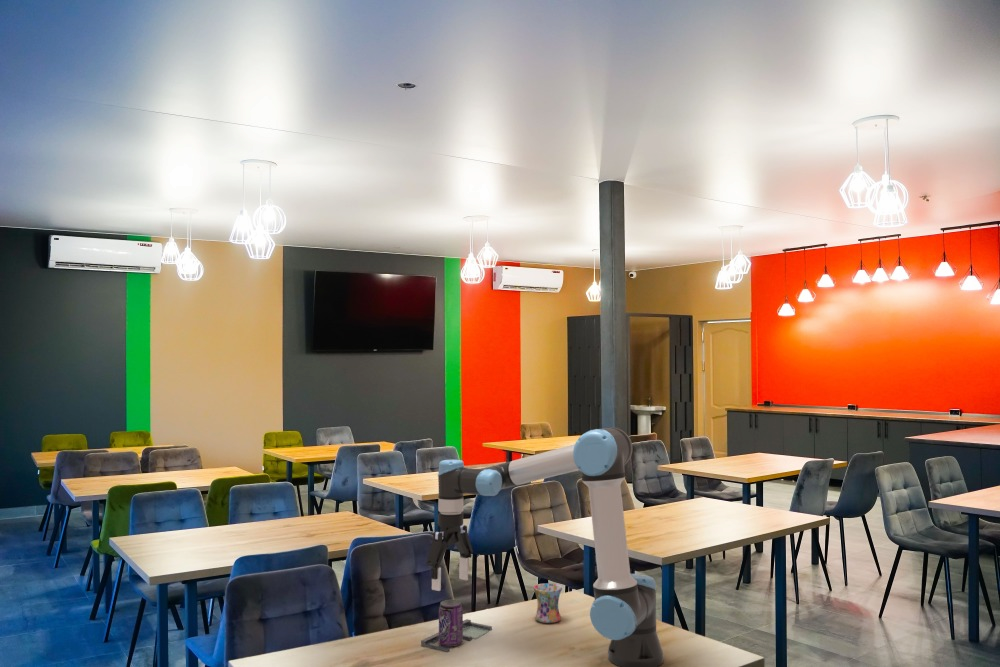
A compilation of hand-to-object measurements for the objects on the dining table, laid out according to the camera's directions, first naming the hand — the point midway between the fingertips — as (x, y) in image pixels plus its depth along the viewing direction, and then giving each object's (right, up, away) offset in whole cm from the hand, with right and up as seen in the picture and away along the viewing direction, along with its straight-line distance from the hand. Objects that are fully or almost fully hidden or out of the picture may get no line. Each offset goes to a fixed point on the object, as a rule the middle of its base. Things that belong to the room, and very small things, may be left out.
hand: (450, 584), depth 226 cm
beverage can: (0, -17, -1) cm, 17 cm away
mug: (+30, -19, +22) cm, 42 cm away
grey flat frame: (+2, -17, +4) cm, 18 cm away
